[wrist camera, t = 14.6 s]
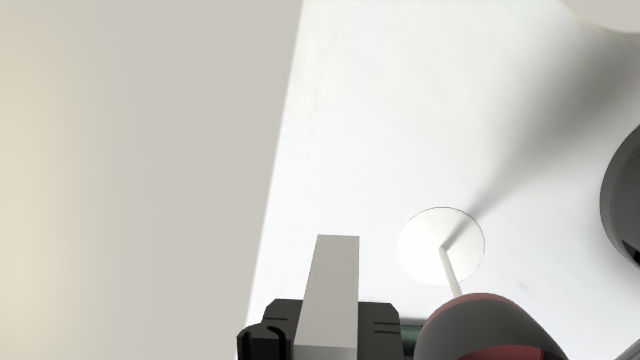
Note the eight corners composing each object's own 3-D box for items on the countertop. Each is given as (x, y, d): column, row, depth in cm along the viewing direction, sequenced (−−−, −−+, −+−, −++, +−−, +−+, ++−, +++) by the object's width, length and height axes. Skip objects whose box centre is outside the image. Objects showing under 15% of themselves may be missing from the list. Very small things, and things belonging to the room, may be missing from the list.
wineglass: (509, 243, 43) (625, 414, 24) (436, 307, 45) (489, 508, 26) (444, 183, 42) (510, 312, 23) (373, 251, 44) (380, 420, 25)
